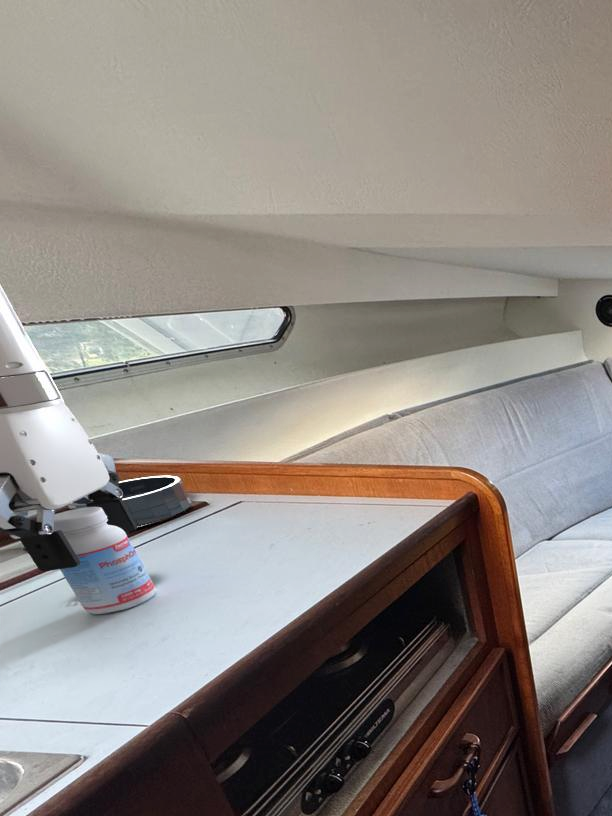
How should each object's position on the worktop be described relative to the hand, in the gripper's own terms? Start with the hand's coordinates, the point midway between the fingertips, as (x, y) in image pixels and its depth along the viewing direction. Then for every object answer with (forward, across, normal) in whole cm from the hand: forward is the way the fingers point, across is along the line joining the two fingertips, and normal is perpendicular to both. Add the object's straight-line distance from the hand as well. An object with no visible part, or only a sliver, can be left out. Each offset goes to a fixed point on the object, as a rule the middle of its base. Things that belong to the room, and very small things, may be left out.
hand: (93, 548), depth 63 cm
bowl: (+7, -33, -15) cm, 37 cm away
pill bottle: (+7, 0, 0) cm, 7 cm away
